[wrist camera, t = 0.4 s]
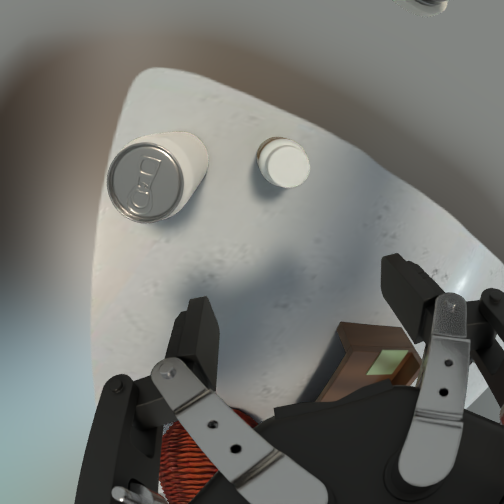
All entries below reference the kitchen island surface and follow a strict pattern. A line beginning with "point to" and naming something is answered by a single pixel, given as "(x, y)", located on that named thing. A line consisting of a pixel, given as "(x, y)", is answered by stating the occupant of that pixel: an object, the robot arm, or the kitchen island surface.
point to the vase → (186, 463)
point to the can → (156, 175)
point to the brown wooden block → (371, 359)
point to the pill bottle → (283, 162)
